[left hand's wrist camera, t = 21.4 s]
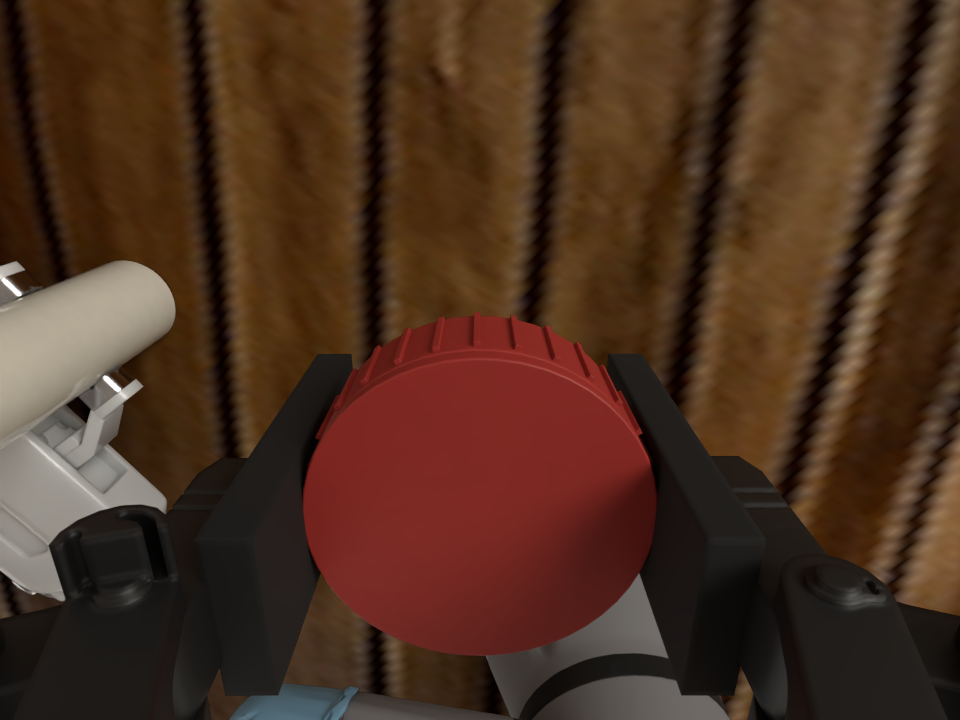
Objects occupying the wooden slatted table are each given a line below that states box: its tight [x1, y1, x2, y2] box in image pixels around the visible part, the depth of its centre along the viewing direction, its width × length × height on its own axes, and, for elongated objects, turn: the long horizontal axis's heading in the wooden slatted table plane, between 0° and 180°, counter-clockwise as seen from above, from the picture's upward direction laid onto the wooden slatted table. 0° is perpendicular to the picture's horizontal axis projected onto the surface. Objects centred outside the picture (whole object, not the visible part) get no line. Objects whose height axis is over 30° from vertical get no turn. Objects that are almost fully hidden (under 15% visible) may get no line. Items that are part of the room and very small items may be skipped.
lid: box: [302, 312, 658, 656], centre depth 11 cm, size 6×6×2 cm
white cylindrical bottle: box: [0, 261, 175, 451], centre depth 27 cm, size 5×5×17 cm
